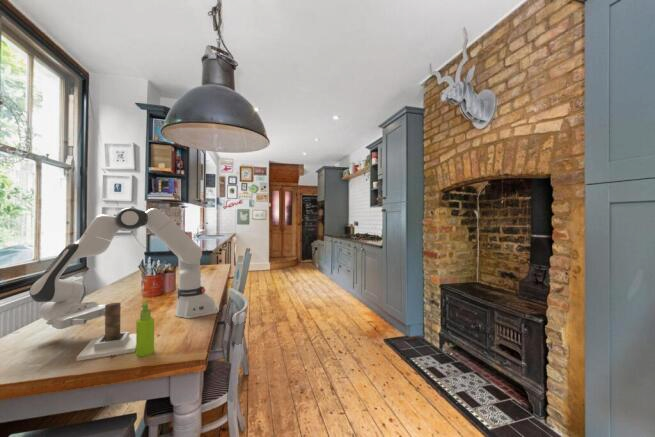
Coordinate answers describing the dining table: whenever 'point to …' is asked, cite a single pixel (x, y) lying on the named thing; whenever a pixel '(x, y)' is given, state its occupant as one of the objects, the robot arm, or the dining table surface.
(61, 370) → the dining table surface
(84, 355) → the stool seat
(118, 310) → the walnut leg
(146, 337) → the soap dispenser
